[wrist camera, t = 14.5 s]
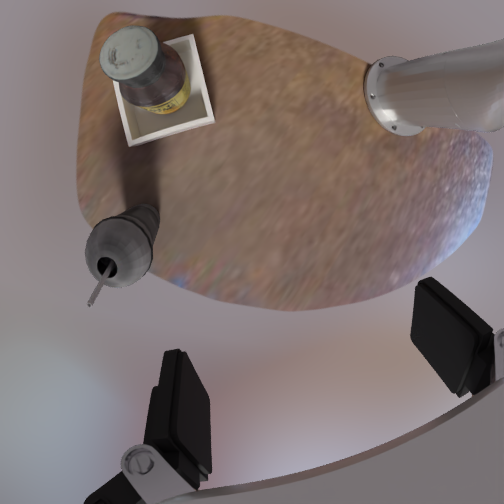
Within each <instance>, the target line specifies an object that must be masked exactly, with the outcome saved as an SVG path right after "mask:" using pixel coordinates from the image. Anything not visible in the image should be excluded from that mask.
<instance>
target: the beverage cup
mask: <svg viewBox="0 0 504 504" xmlns="http://www.w3.org/2000/svg"><path fill="white" fill-rule="evenodd" d="M159 224H160V217H159V213H158V212H157V210H156V209H155V208H154V207H153V206H151V205H148V204H139V205H137V206H134V207H132V208H130V209H128V210H126V211H124V212H123V213H121V214H119V215H117V216H115V217H114V216H113V217H109V218H106V219H103V220H102V221H101V222H99V223H98V224H97V225H96V226H95V227H94V229H93V230H92V232H91V234H90V236H89V238H88V240H87V244H86V249H85V257H86V263H87V266H88V268H89V271H90V272H91V274H92V275H93V276H94V278H95V279H96V280H98V281H99V283H98V285H97V287H96V288H95V290H94V292H93V293H92V295H91V297H90V299H89V301H88V302H87V307H89V308H91V307H92V305H93V303H94V301H95V299H96V297H97V296H98V294H99V292H100V290H101V288H102V287H103V285H106V286H109V287H115V288H122V287H126V286H130V285H132V284H133V283H135V282H136V281H138V280H139V279H141V277H143V276H144V275H145V274H146V272H147V271H148V270H149V268H150V266H151V263H152V260H153V244H154V241H155V238H156V235H157V232H158V228H159Z"/></svg>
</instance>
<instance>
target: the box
mask: <svg viewBox="0 0 504 504" xmlns="http://www.w3.org/2000/svg"><path fill="white" fill-rule="evenodd" d="M163 43H165V44H167V45H169V46H171V47H172V48H173V49H174V50H176V52H177V53H178V54H179V56H180V58H181V60H182V61H183V63H184V66H185V69H186V72H187V75H188V78H189V81H190V85H191V92H190V96H189V98H188V100H187V102H186V103H185V104H184V106H182V107H181V108H180V109H179V110H177V111H176V112H173V113H170V114H156V113H153V112H150V111H148V110H145V109H142V108H140V107H137V106H135V105H133V104H131V103H129V102H127V101H126V100H125V99H124V98H123V96H122V95H121V93H120V89H119V82H116V81H114V80H113V83H114V88H115V92H116V97H117V101H118V106H119V110H120V114H121V118H122V123H123V127H124V131H125V134H126V138H127V142H128V146H129V147H130V146H138V145H142V144H145V143H148V142H151V141H154V140H157V139H160V138H163V137H166V136H169V135H172V134H176V133H179V132H182V131H186V130H189V129H193V128H197V127H200V126H204V125H208V124H212V123H215V120H214V116H213V112H212V108H211V104H210V100H209V96H208V92H207V88H206V84H205V80H204V76H203V72H202V68H201V64H200V60H199V56H198V52H197V47H196V43H195V39H194V35H193V34H191V35H187V36H183V37H180V38H176V39H173V40H169V41H166V42H163Z"/></svg>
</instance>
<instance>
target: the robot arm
mask: <svg viewBox="0 0 504 504" xmlns="http://www.w3.org/2000/svg"><path fill="white" fill-rule="evenodd" d="M364 93H365V99H366V102H367V105H368V108H369V110H370V112H371V114H372V115H373V117H374V118H375V120H376V121H377V122H378V123H379V124H380V125H381V126H382V127H383V128H385V129H386V130H387V131H389V132H391V133H393V134H396V135H400V136H412V135H415V134H418V133H419V132H421V131H422V130H424V128H425V127H437V128H449V129H460V130H469V131H477V132H495V131H497V130H500V129H501V128H503V127H504V39H501V40H498V41H494V42H491V43H487V44H482V45H478V46H473V47H468V48H463V49H458V50H453V51H448V52H443V53H439V54H434V55H430V56H426V57H423V58H418V59H414V60H411V61H408V60H406V59H403V58H401V57H396V56H389V57H384V58H381V59H379V60H377V61H376V62H375V63H373V64H372V65H371V67H370V68H369V69H368V72H367V74H366V76H365V82H364ZM370 96H371V97H370ZM492 331H493V329H492V328H491V327H490V326H489V325H488V324H487V323H486V322H485V321H484V320H483V319H482V318H480V317H479V316H478V315H477V314H476V313H475V312H474V311H472V310H471V309H470V308H469V307H468V306H467V305H466V304H464V303H463V302H462V301H461V300H459V299H458V298H457V297H456V296H455V295H454V294H453V293H451V292H450V291H449V290H448V289H447V288H445V287H444V286H443V285H441V284H440V283H439V282H438V281H437V280H435V279H434V278H432V277H428V278H425V279H423V280H420V281H419V282H418V285H417V286H416V287H415V297H414V308H413V318H412V327H411V334H410V336H411V340H412V342H413V344H414V345H415V346H416V347H417V348H418V350H419V351H420V352H421V353H422V355H423V356H424V357H425V359H426V360H427V361H428V362H429V364H430V365H431V366H432V367H433V369H434V370H435V371H436V373H437V374H438V375H439V376H440V378H441V379H442V380H443V382H444V383H445V384H446V386H447V387H448V388H449V390H450V391H451V392H452V393H456V394H457V396H458V397H459V398H460V397H462V396H464V395H465V394H467V393H468V392H469V391H470V392H471V393H472V397H471V398H470V399H468V400H466V401H465V402H463V403H462V404H460V405H458V406H457V407H455V408H454V409H452V410H450V411H448V412H447V413H445V414H443V415H441V416H440V417H438V418H436V419H434V420H432V421H430V422H428V423H427V424H425V425H423V426H421V427H419V428H417V429H415V430H413V431H411V432H409V433H407V434H404V435H402V436H400V437H398V438H396V439H394V440H391V441H389V442H387V443H384V444H382V445H380V446H377V447H375V448H372V449H370V450H367V451H365V452H362V453H359V454H357V455H354V456H351V457H348V458H345V459H342V460H339V461H336V462H333V463H330V464H326V465H323V466H320V467H316V468H313V469H310V470H305V471H302V472H298V473H294V474H289V475H285V476H281V477H276V478H272V479H266V480H262V481H256V482H250V483H245V484H238V485H232V486H224V487H218V488H212V489H205V490H198V488H199V487H200V481H208V474H211V473H212V456H211V425H210V399H209V396H208V394H207V392H206V390H205V388H204V386H203V384H202V383H201V380H200V379H199V377H198V375H197V373H196V371H195V369H194V367H193V365H192V363H191V361H190V359H189V357H188V355H187V353H186V352H181V350H180V349H174V350H169V351H165V352H164V356H163V361H162V367H161V372H160V378H159V384H158V386H155V387H153V389H152V393H151V398H150V404H149V410H148V416H147V423H146V429H145V435H144V442H143V444H140V445H135V446H133V447H131V448H129V449H128V450H127V451H126V452H125V453H124V455H123V456H122V459H121V469H122V471H121V472H120V473H119V474H117V475H116V476H115V477H114V478H112V479H111V480H109V481H108V482H107V483H106V484H104V485H103V486H102V487H100V488H99V489H98V490H96V491H95V492H93V493H92V494H91V495H89V496H88V498H86V500H85V502H84V504H504V328H503V329H500V330H499V331H497V332H496V334H493V333H492Z"/></svg>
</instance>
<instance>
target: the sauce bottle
mask: <svg viewBox="0 0 504 504" xmlns="http://www.w3.org/2000/svg"><path fill="white" fill-rule="evenodd" d="M99 61H100V65H101V68H102V70H103V72H104V73H105V74H106V75H107V76H108V77H109V78H111V79H112V80H114V81H116V82H119V89H120V93H121V95H122V96H123V98H124V99H125V100H126V101H127V102H129V103H131V104H133V105H135V106H137V107H140V108H142V109H145V110H148V111H150V112H153V113H156V114H170V113H173V112H176V111H177V110H179V109H180V108H181V107H182V106H184V104H185V103H186V102H187V100H188V98H189V96H190V92H191V85H190V81H189V78H188V75H187V72H186V69H185V66H184V63H183V61H182V60H181V58H180V56H179V54H178V53H177V52H176V50H174V49H173V48H172V47H171V46H169V45H167V44H165V43H163V42H159V40H158V38H157V37H156V35H155V34H154V33H153V32H152V31H151V30H150V29H148V28H146V27H143V26H127V27H124V28H122V29H120V30H118V31H117V32H115V33H114V34H112V35H111V36H110V37H109V38H108V39H107V40H106V42H105V43H104V45H103V47H102V49H101V52H100V58H99Z"/></svg>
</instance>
